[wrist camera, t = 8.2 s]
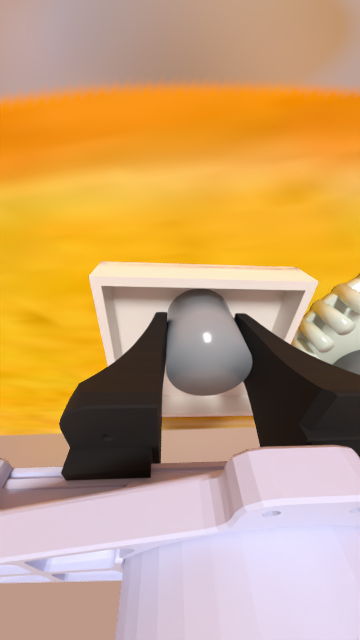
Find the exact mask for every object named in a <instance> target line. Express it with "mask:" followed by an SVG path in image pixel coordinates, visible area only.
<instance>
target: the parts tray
mask: <svg viewBox="0 0 360 640" xmlns="http://www.w3.org/2000/svg"><path fill="white" fill-rule="evenodd" d="M89 280H90V284H91V289H92V294H93V298H94V303H95V308H96V312H97V317H98V322H99V326H100V331H101V336H102V340H103V345H104V350H105V354H106V359H107V364H108V366H109V365H111V364H112V363H114V362H115V361H116V360H117V359H119V358H120V357H121V356H122V355H123V354H124V353H126V352H127V351H128V350H129V349H130V348H131V347H132V346H133V345H134V344H135V343H136V341H137V340H138V339H139V338H140V337H141V335H142V334H143V333H144V331H145V330H146V329H147V327H148V326H149V324H150V323H151V321H152V319H153V317H154V315H155V313H156V312H168V308H169V306H170V304H171V303H172V301H173V300H174V299H175V298H176V297H177V296H179V295H180V294H182V293H183V292H185V291H188V290H192V289H198V288H202V289H209V290H212V291H214V292H216V293H218V294H219V295H221V296H222V297H223V298H224V300H225V301H226V303H227V305H228V307H229V309H230V312H231V314H232V316H233V318H234V316H235V313H246V314H247V315H249V316H250V317H252V318H253V319H254V320H256V321H257V322H258V323H260V324H261V325H262V326H264V327H265V328H267V329H268V330H269V331H271V332H272V333H274V334H275V335H276V336H278V337H280V338H281V339H283V340H284V341H286V342H287V343H289V344H291V342H292V340H293V338H294V336H295V333H296V331H297V329H298V327H299V325H300V322H301V320H302V318H303V316H304V313H305V311H306V309H307V307H308V305H309V302H310V300H311V298H312V296H313V293H314V291H315V289H316V287H317V285H318V281H317V280H315V279H314V278H312V277H311V276H309V275H308V274H306V273H305V272H303V271H301V270H300V269H298V268H297V267H272V266H239V265H205V264H171V263H138V262H104V261H101V262H100V264H99V265H98V266H97V267H96V268H95V269H94V271H93V272H92V273H91V274H90V275H89ZM204 416H253V413H252V409H251V405H250V401H249V398H248V394H247V391H246V388H245V385H244V382H242V383H240V384H239V385H238V386H236V387H235V388H233V389H231V390H229V391H227V392H224V393H221V394H217V395H211V396H197V395H191V394H188V393H185V392H182V391H180V390H179V389H177V388H176V387H175V386H173V385H172V383H171V382H170V381H169V379H168V377H167V373H166V365H165V373H164V381H163V391H162V417H204Z"/></svg>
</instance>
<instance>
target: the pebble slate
mask: <svg viewBox="0 0 360 640" xmlns="http://www.w3.org/2000/svg"><path fill="white" fill-rule="evenodd" d="M251 367H252V356H251V353H250V351H249V349H248V347H247V345H246V343H245V341H244V339H243V336H242V334H241V332H240V330H239V328H238V326H237V324H236V322H235V320H234V318H233V316H232V314H231V312H230V309H229V307H228V305H227V303H226V301H225V300H224V298H223V297H222V296H221V295H219V294H218V293H216V292H214V291H212V290H209V289H202V288H198V289H192V290H188V291H185V292H183V293H182V294H180V295H179V296H177V297H176V298H175V299H174V300H173V301H172V303H171V304H170V306H169V308H168V312H167V344H166V373H167V377H168V379H169V381H170V382H171V383H172V385H173V386H175V387H176V388H177V389H179V390H180V391H182V392H185V393H188V394H191V395H197V396H211V395H217V394H221V393H224V392H227V391H229V390H231V389H233V388H235V387H236V386H238V385H239V384H240V383H242V382H243V381H244V380H245V378H246V377H247V376H248V374H249V373H250V370H251Z"/></svg>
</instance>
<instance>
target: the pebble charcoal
mask: <svg viewBox="0 0 360 640" xmlns="http://www.w3.org/2000/svg"><path fill="white" fill-rule="evenodd" d="M333 365H334V366H337V367H339V368H342V369H345V370H347V371H350V372H353V373H356V374H359V375H360V350H357V351H353V352H350V353H348V354H346V355H344V356H342V357H341V358H339V359H338V360H337V361H336V362H334V363H333Z"/></svg>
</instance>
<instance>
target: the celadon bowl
mask: <svg viewBox="0 0 360 640" xmlns="http://www.w3.org/2000/svg"><path fill="white" fill-rule="evenodd" d="M291 345H292V346H294V347H296V348H298V349H300V350H302V351H303V352H305V353H307V354H309V355H311V356H314V357H316V358H318V359H320V360H322V361H325V362H327V363H329V364H332V365H333V363H334V362H336V361H337V360H338V359H339V358H341V357H342V356H344V355H346V354H348V353H350V352H353V351H357V350H360V274H359V275H358V277H357V278H354V279H352V280H350V281H349V282H347V283H345V284H339V285H337V286H336V287H334V289H333V290H332V292H331V293H329V294H328V295H326V296H325V297H324V298H323V299H322V300H318V301H316V302H314V303H313V305H312V306H311V309H310V310H309V311H308V312H307V313H306V315H305V316H304V317H303V318H302V320H301V322H300V325H299V327H298V329H297V331H296V333H295V336H294V338H293V340H292V342H291Z"/></svg>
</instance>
